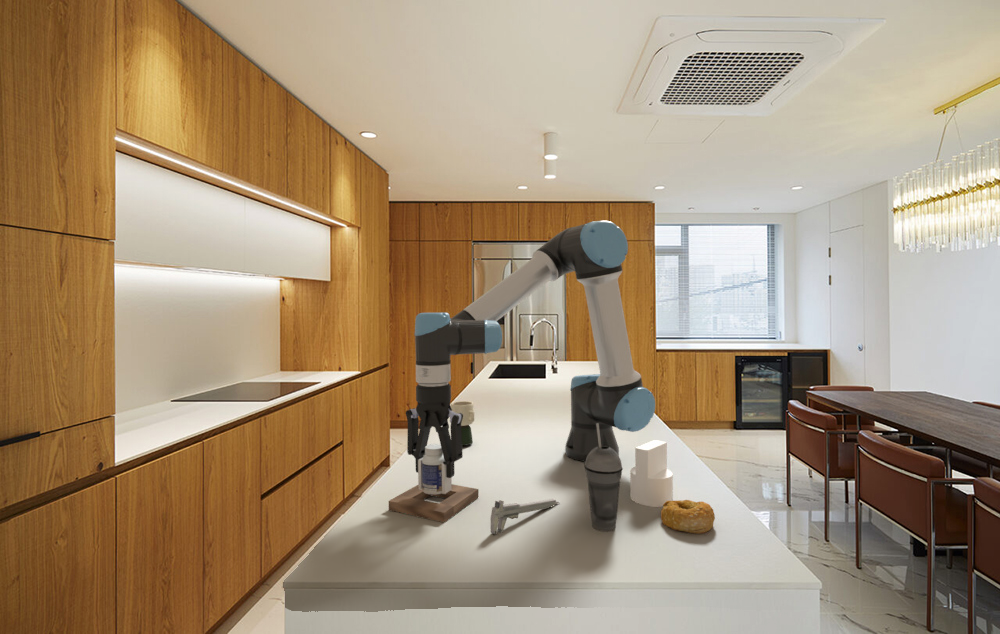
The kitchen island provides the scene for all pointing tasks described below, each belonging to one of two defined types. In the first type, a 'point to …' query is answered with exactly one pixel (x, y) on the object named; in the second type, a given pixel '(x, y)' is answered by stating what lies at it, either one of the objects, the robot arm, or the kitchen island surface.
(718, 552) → the kitchen island surface
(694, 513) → the bagel
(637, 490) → the cylinder with rectangular tab
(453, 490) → the holder block
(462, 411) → the character mug
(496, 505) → the caliper
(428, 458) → the pill bottle
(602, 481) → the beverage cup
